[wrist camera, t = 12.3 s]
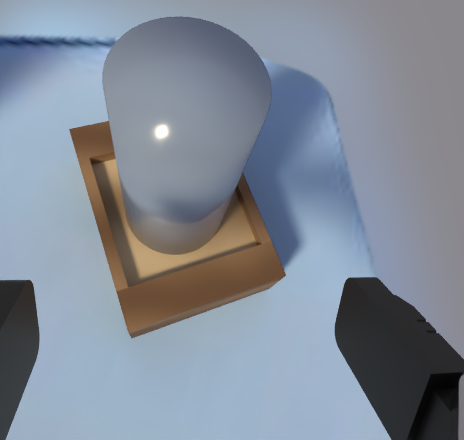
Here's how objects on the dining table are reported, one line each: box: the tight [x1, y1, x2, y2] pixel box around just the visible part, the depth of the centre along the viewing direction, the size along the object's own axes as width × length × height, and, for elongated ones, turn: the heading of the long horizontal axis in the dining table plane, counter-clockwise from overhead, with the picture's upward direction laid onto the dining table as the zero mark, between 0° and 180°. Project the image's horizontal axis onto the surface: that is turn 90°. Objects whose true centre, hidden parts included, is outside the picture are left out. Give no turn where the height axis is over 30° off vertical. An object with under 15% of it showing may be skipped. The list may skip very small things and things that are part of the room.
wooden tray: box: [69, 121, 286, 338], centre depth 25 cm, size 12×9×4 cm
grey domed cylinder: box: [102, 17, 271, 255], centre depth 19 cm, size 6×6×11 cm
